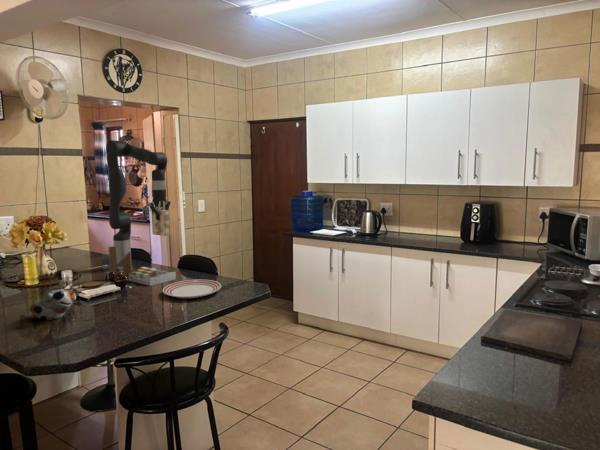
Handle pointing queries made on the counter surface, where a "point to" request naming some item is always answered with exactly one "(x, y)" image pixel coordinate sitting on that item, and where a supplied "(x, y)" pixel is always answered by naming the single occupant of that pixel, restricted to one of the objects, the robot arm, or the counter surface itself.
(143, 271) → the offcut stack
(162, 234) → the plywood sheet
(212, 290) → the dinner plate
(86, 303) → the counter surface
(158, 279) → the rack
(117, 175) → the robot arm
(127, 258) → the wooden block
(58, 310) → the lucky cat figurine
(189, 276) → the counter surface
